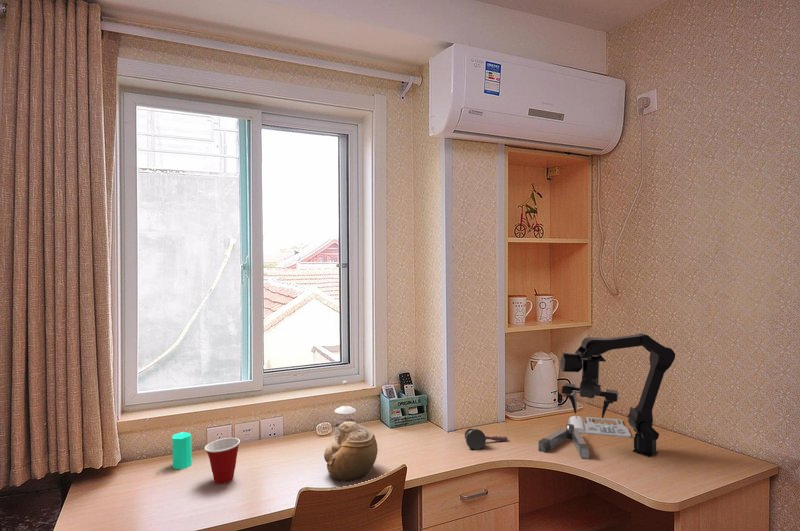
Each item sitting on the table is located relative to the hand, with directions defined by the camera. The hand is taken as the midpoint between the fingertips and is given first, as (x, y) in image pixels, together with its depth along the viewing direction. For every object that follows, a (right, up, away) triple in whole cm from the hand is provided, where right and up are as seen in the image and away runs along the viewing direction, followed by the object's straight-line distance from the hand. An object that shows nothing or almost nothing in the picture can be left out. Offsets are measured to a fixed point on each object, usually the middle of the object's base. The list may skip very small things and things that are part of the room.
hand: (588, 415), depth 177 cm
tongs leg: (-2, -13, +3) cm, 13 cm away
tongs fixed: (-9, -13, +8) cm, 18 cm away
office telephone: (+14, -14, +27) cm, 33 cm away
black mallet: (-35, -14, +8) cm, 39 cm away
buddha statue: (-85, -14, -16) cm, 87 cm away
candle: (-144, -15, -8) cm, 145 cm away
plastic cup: (-125, -15, -20) cm, 128 cm away
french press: (-89, -14, +8) cm, 90 cm away
